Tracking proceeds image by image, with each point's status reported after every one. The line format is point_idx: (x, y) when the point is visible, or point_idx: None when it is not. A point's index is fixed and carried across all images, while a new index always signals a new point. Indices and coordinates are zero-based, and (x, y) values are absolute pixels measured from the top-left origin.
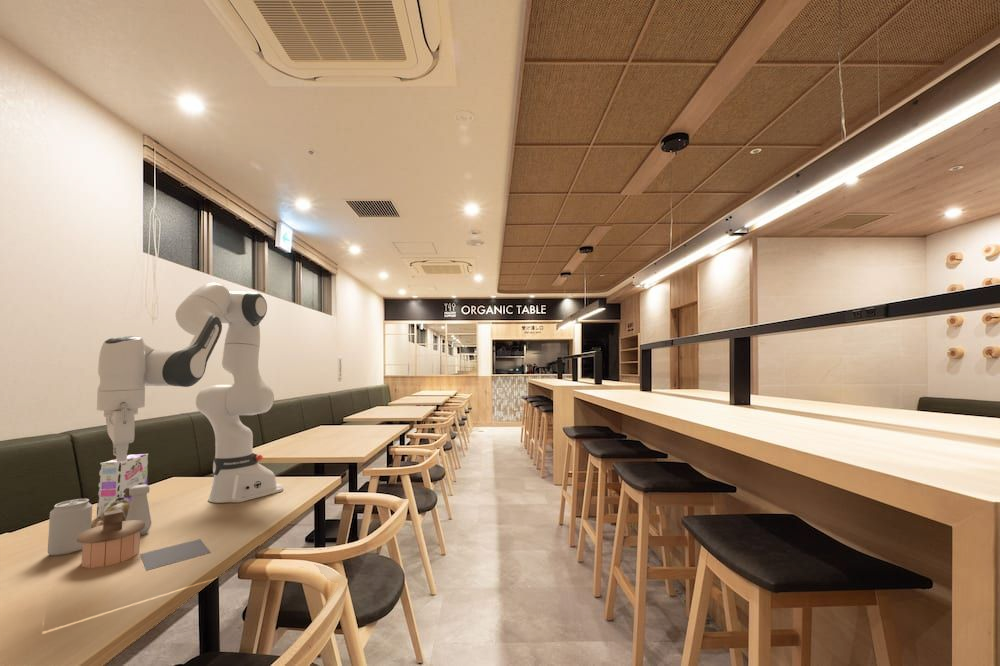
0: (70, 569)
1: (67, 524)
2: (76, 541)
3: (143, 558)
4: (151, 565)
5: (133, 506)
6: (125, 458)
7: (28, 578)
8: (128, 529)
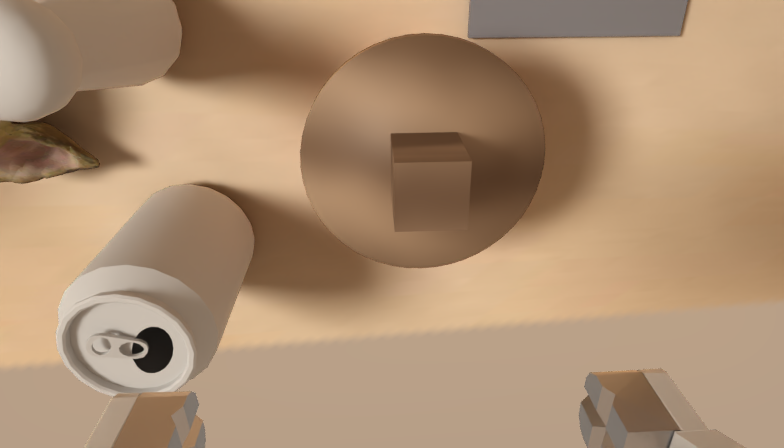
0: None
1: (231, 304)
2: (242, 236)
3: (536, 32)
4: (645, 14)
5: (105, 72)
6: (674, 390)
7: (398, 302)
8: (488, 109)
